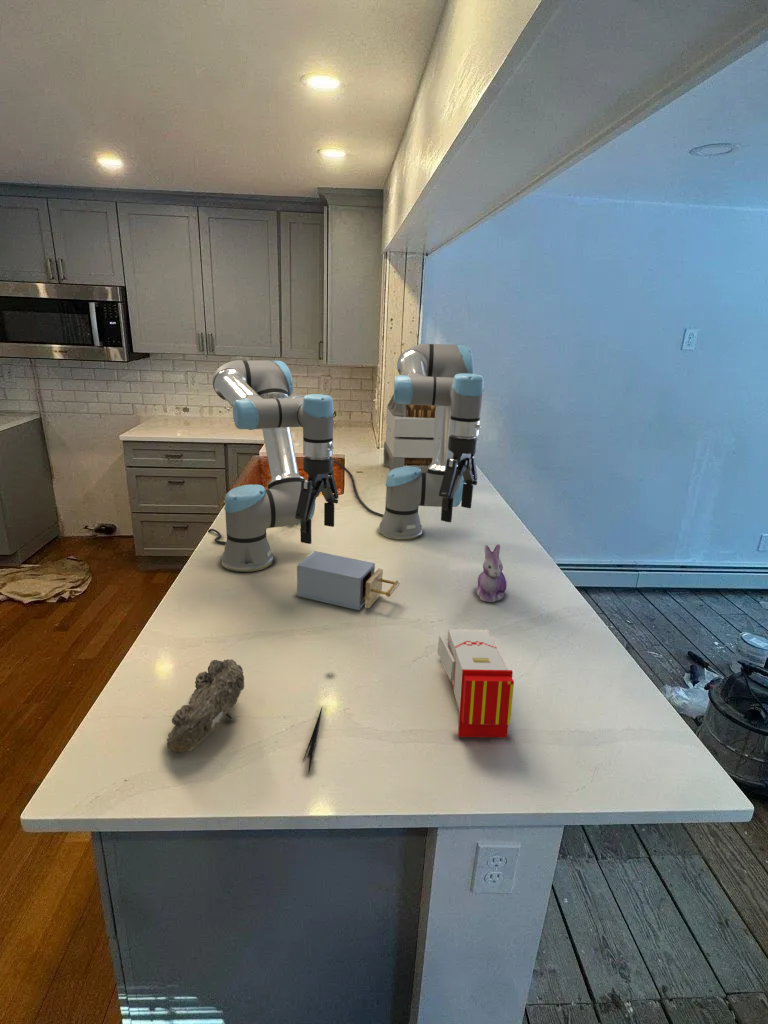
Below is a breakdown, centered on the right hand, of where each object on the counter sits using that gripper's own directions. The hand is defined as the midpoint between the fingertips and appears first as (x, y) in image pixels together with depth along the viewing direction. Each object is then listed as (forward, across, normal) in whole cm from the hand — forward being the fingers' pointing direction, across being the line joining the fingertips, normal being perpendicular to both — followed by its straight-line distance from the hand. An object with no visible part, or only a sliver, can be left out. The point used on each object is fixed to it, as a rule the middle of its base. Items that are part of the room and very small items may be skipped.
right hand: (456, 514), depth 152 cm
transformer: (+23, +105, +62) cm, 124 cm away
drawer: (+23, -18, +20) cm, 35 cm away
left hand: (+6, -20, +31) cm, 37 cm away
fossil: (+24, -73, +17) cm, 78 cm away
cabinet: (+24, -19, +26) cm, 40 cm away
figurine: (+24, +5, -11) cm, 26 cm away
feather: (+24, -62, 0) cm, 67 cm away
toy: (+24, -38, -22) cm, 50 cm away
